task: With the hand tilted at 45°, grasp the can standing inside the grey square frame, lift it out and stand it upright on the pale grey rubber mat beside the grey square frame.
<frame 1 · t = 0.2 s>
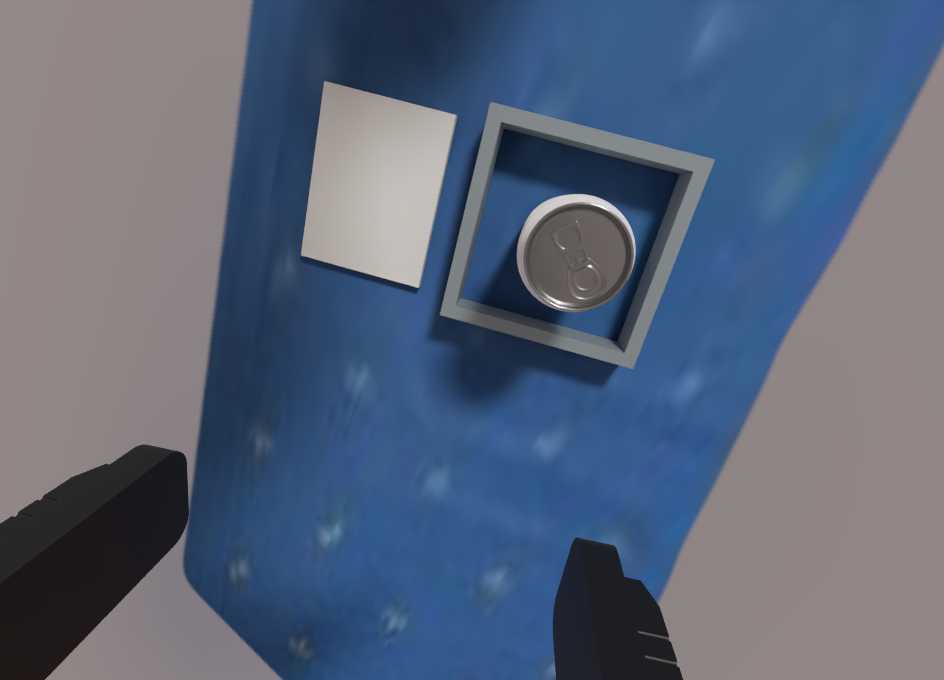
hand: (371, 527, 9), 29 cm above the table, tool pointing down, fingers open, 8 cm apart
mat: (376, 189, 36), on the table
can: (563, 239, 35), resting in grey square frame
grey square frame: (563, 240, 35), on the table
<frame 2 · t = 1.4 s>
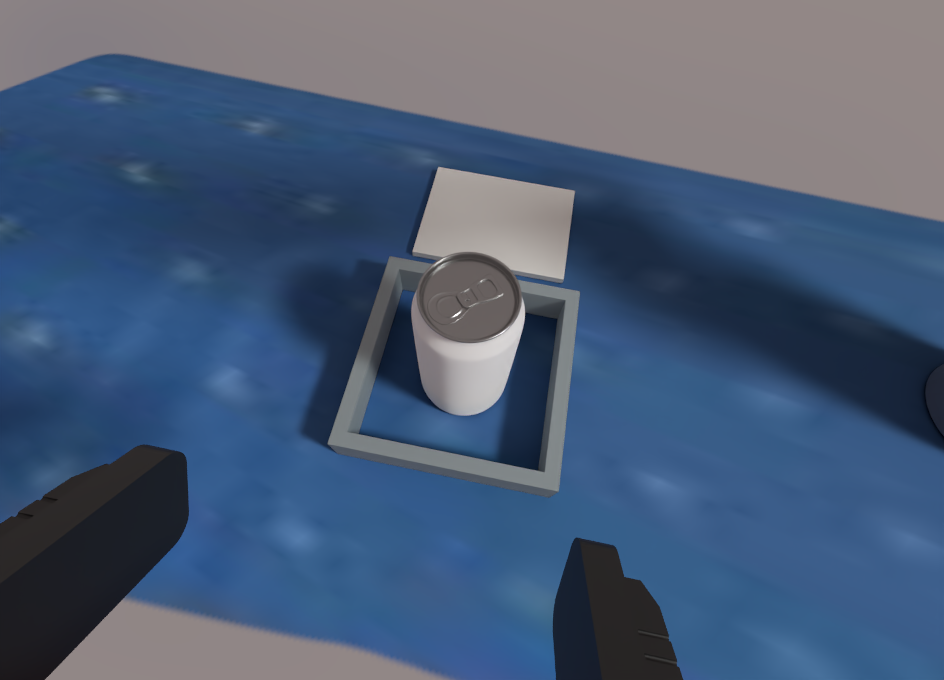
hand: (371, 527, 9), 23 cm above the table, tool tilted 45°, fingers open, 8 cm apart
mat: (496, 224, 42), on the table
can: (463, 377, 35), resting in grey square frame
grey square frame: (463, 376, 35), on the table
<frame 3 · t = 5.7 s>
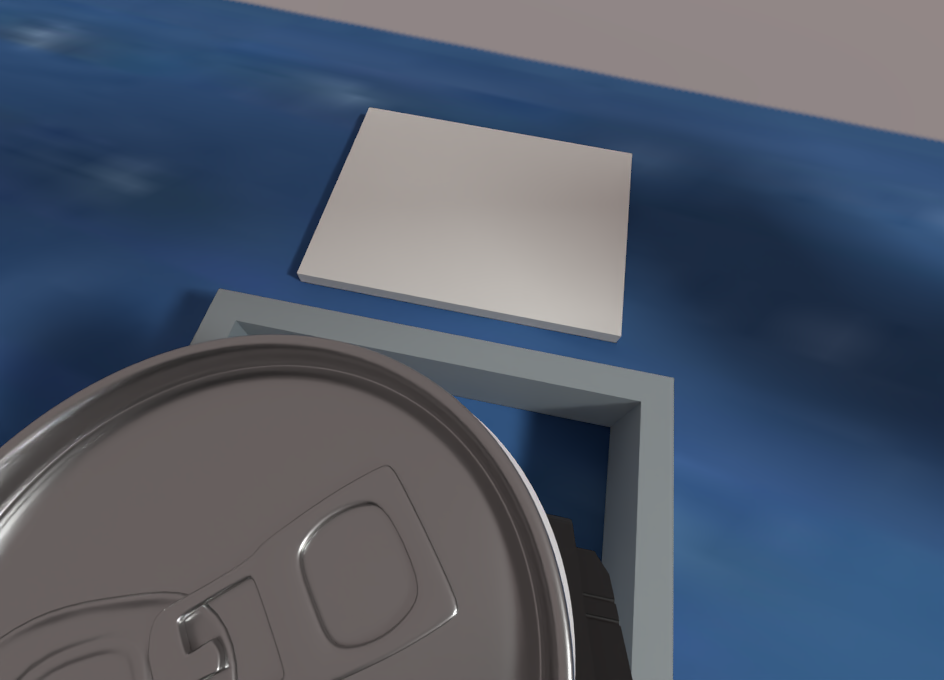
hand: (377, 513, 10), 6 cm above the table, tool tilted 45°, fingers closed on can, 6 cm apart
mat: (479, 217, 21), on the table
can: (390, 586, 15), resting in grey square frame, touching gripper
grey square frame: (389, 586, 14), on the table
when the fingers open (8 cm above the table, at t = 11.0 s): can drops 1 cm, resting on mat.
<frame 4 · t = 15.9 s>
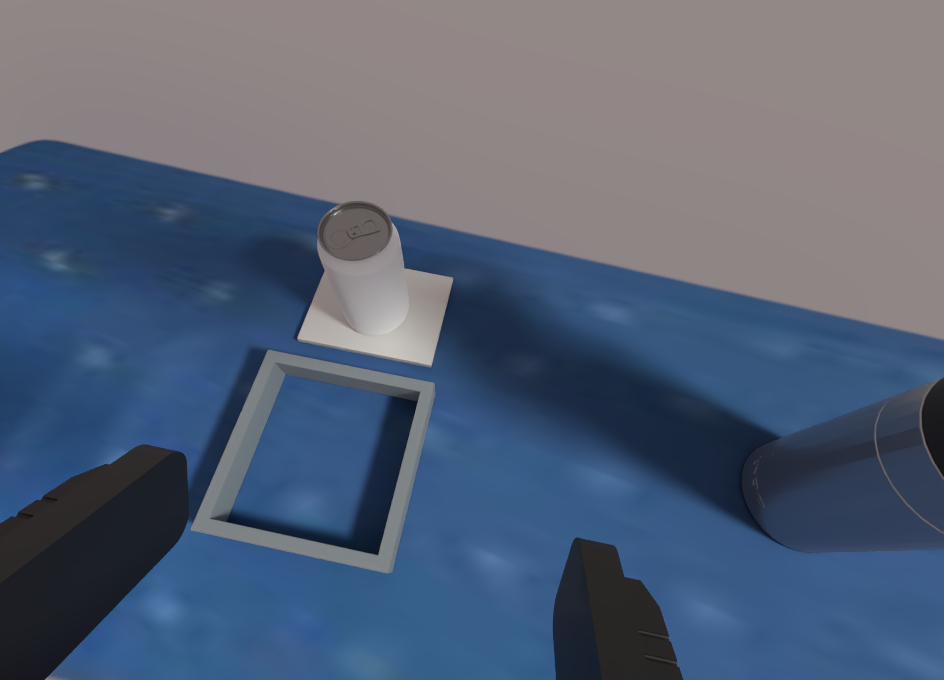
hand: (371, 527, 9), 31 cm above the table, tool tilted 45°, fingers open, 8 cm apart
mat: (379, 309, 46), on the table
can: (377, 309, 46), resting on mat
grey square frame: (330, 458, 40), on the table
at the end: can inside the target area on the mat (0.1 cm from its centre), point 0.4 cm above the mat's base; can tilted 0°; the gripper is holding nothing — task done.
